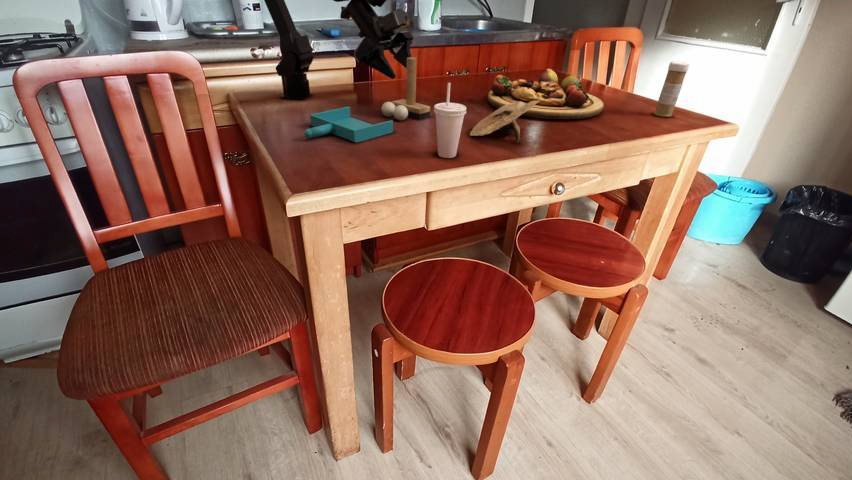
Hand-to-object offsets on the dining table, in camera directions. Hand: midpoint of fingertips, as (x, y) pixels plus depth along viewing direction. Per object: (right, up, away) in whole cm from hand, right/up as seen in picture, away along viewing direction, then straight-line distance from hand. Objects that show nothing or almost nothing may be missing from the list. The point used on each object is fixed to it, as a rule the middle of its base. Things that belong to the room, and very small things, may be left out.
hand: (404, 74), depth 113 cm
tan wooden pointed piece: (+22, -18, -9) cm, 30 cm away
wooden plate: (+39, -2, +15) cm, 42 cm away
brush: (+1, -8, +4) cm, 10 cm away
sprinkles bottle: (+70, -7, +10) cm, 72 cm away
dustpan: (-15, -17, -10) cm, 25 cm away
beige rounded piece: (-4, -10, +2) cm, 11 cm away
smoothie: (+9, -25, -20) cm, 34 cm away
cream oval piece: (-1, -11, 0) cm, 12 cm away
